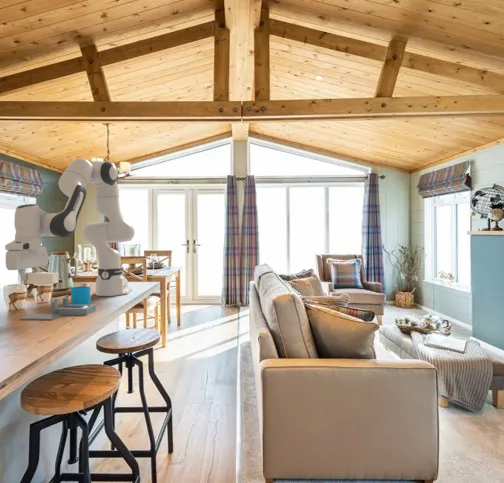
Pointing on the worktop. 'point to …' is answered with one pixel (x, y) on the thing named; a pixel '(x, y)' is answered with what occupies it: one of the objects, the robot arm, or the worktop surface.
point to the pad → (41, 317)
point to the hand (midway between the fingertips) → (29, 279)
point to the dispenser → (71, 307)
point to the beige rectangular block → (41, 278)
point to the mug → (80, 295)
